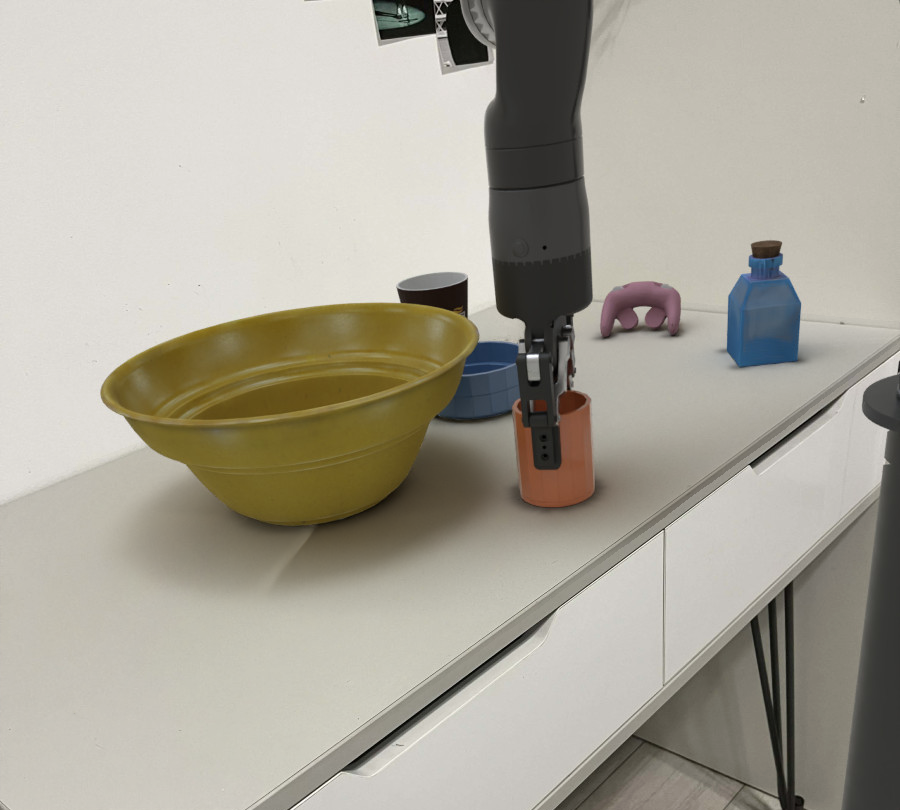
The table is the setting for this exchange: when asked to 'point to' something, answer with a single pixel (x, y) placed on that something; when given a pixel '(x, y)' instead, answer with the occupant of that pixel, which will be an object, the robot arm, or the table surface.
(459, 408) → the bowl
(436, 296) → the coffee mug
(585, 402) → the cup
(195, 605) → the table surface
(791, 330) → the perfume bottle
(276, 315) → the planter bowl
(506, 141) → the robot arm
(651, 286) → the video game controller
